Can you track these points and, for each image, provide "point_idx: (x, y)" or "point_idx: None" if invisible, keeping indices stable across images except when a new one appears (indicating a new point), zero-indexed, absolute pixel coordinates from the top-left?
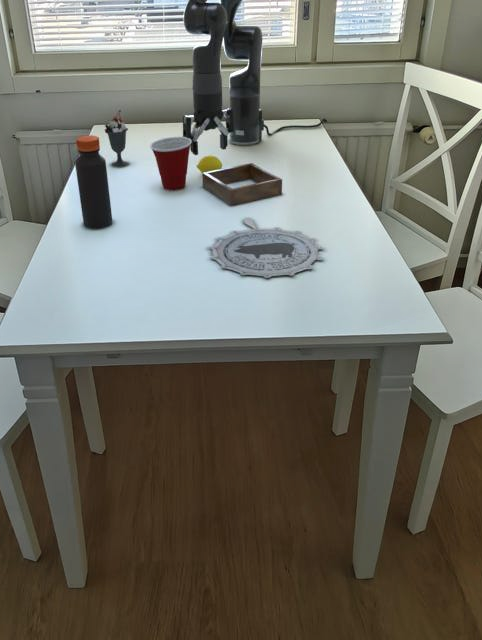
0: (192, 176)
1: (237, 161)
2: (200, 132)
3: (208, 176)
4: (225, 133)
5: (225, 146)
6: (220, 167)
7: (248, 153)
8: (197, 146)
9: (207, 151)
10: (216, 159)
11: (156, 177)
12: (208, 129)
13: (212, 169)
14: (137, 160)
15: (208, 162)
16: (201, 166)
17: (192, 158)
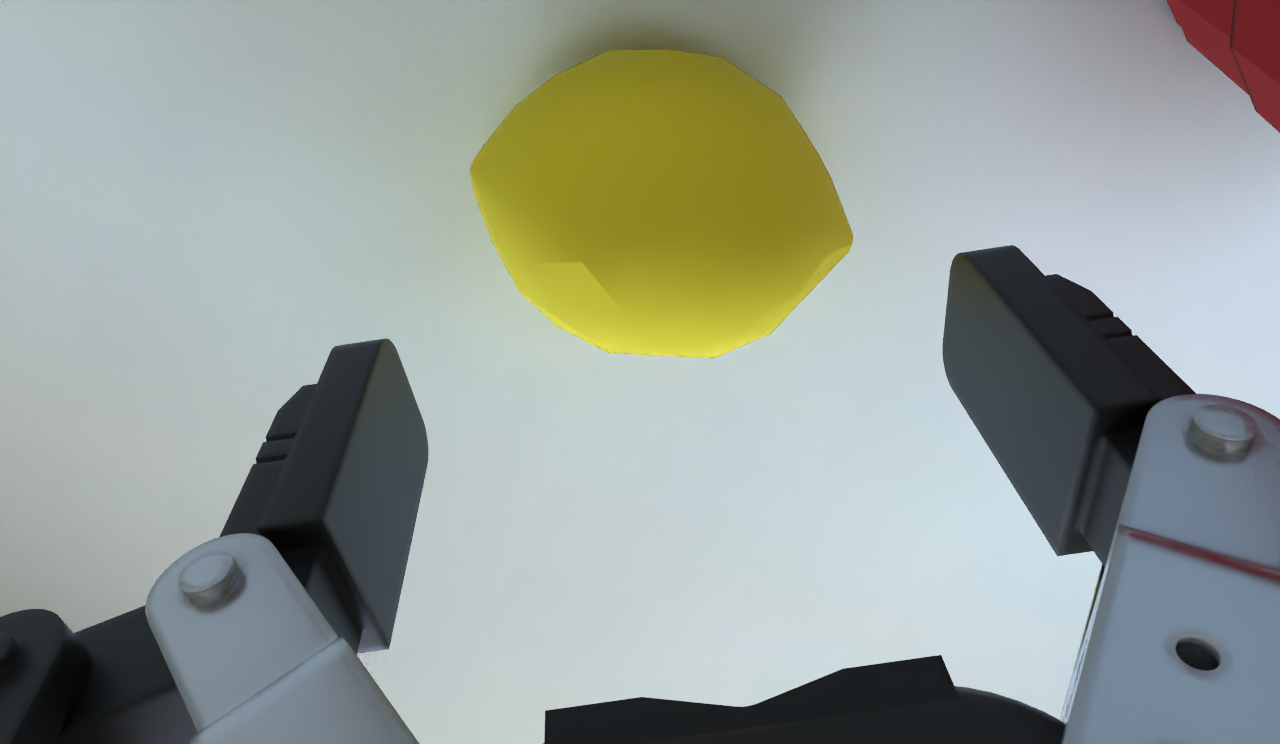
0: (869, 198)
1: (206, 458)
2: (1199, 565)
3: None
4: (245, 581)
5: (337, 367)
6: (518, 104)
7: (63, 606)
8: (1043, 336)
9: (457, 717)
10: (576, 183)
11: (1222, 313)
12: (819, 697)
13: (677, 52)
14: (1060, 693)
15: (738, 143)
16: (824, 169)
17: (638, 630)
